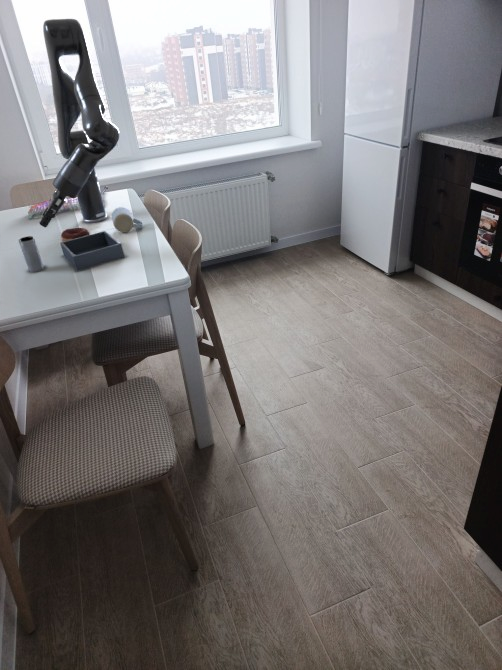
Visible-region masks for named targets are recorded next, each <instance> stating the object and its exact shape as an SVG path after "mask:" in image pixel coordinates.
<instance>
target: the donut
mask: <svg viewBox="0 0 502 670" xmlns="http://www.w3.org/2000/svg"><path fill="white" fill-rule="evenodd" d="M87 235H91V233H90V231H89V230H88V229H87V228H85V227H73V228H66V229H65V230H63V231H62V232H61V234H60V236H61V237H60V238H61V240H62V241H61V242H64V241H68V240H72V239H76V238H80V237H83V236H87Z"/></svg>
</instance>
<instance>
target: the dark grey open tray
mask: <svg viewBox="0 0 502 670" xmlns="http://www.w3.org/2000/svg"><path fill="white" fill-rule="evenodd" d="M59 244H60V248H61V251H62V254H63V256H64V258H65V259H66V260H67V261H68V262H69V264H70V265H71V266H72V267H73V268H74V269H75V270H76V272H79V271H83V270H87V269H90V268H93V267H96V266H101V265H103V264H107V263H111V262H114V261H118V260H121V259H125V253H124V249H123V244H122V243H121V242H120V241H119V240H117V239H116V238H115V237H113V235H111V234H110V233H109V232H107V231H106V230H102V231H99V232H95V233H90V235H87V236H83V237H80V238H76V239H72V240H68V241H64V242H63V241H60V242H59Z"/></svg>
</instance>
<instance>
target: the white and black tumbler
mask: <svg viewBox="0 0 502 670" xmlns="http://www.w3.org/2000/svg"><path fill="white" fill-rule="evenodd" d="M18 244H19V247H20V249H21V252H22V255H23V258H24V260H25V263H26V265H27V268H28V271H29V272H30V273H37V272H41V271H42V270H44V269H45V266H44V263H43V259H42V257H41V254H40V251H39V248H38V245H37V242H36V239H35V237H34V236H31V235H29V236H24V237H21V238H20V239H18Z"/></svg>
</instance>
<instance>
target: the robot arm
mask: <svg viewBox="0 0 502 670" xmlns="http://www.w3.org/2000/svg"><path fill="white" fill-rule="evenodd" d="M42 30H43V31H42V32H43V38H44V45H45V49H46V54H47V59H48V63H49V64H48V65H49V69H50V70H49V71H50V77H51V88H52V97H53V105H54V108H55V115H56V123H57V142H58V143H57V144H58V149H59V152H60V154H61V156H62V157H63V158H64V159H66V161H65V162H64V163H63V165H62V167H61V168H60V170H59V172H58V173H57V175H56V176H55V178H54V179H53V181H52V186H53V187H54V188H55V189H56V191H55V190H54V192H52V195H51V197H50V199H49V200H48V201H50V202H49V203H48V207H47V208H46V207H45V211H44V212H42V217H41V220H40V221H39V225H40V226H41V227H43V228H47V227H48V226H49V224H50V222H51V221H52V219H55V218H56V216H57V214H58V213H60V212H61V210H62V209H61V207H62V206H63V205H64V206H65V202H66V203H67V201H66V200H67V197H69V199H70V198H71V199H77V198H78V202H79V207H80V208H79V209H80V213H81V216H82V221H83V223H86V224H87V223H88V224H93V223H100V222H102V221H104V220H106V219H108V214H107V212H106V209H105V208H106V207H105V202H104V197H103V195H104V194H105V192H106V190H108V189H109V187H108V186H107V185H105V186H104V188H103V190H102V191H101V187H100V184H99V179H98V175H97V171H96V166H97V164H98V163H99V162H100V161H101V160H103V159H104V158H105V157H106V156H108V154H109V153H110V152H112V151H113V150H114V148H115V147H116V146H117V144H118V142H119V140H120V130H119V128H118V127H117V125H115V124H114V123H113V122H111V121H109V120H108V119H106V118H105V117H104V114H105V112H106V104H105V102H104V99H103V96H102V94H101V91H100V89H99V86H98V83H97V78H96V76H95V72H94V68H93V63H92V62H93V61H92V59H91V54H90V50H89V47H88V43H87V40H86V39H87V38H86V36H85V32H84V29H83V26H82V25H81V23H80V22H79V21H78V20H77V19H75V18H57V19H55V18H52V19H46V20H45V21H44V22H43V26H42ZM69 56H70V57H71V56H78V59H79V62H78V67H77V70H76V74H75V76H73V75H72V74H71V72H69V70H67V68H66V66H65V65H64V63H63V62H62V60H61V57H69ZM80 117H81V125H82V129H83V130H74V131H72V129H73V128H74V125H75V124H76V123H77V122H78V121H79V118H80ZM59 211H60V212H59Z"/></svg>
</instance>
